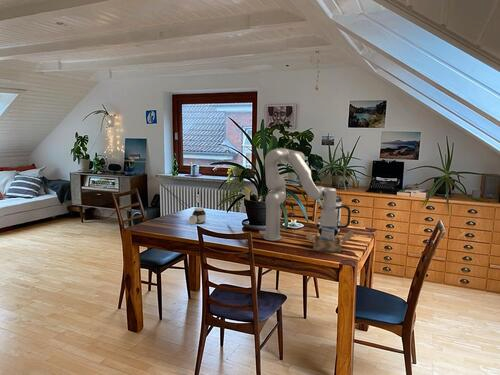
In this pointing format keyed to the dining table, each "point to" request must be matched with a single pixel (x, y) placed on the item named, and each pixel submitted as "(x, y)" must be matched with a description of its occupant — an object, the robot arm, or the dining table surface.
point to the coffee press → (338, 209)
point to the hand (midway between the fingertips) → (327, 235)
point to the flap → (347, 236)
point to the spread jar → (198, 216)
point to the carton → (325, 243)
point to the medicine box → (327, 233)
